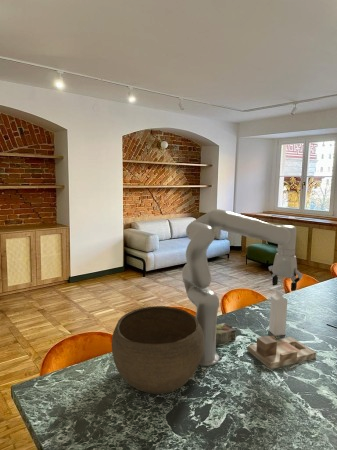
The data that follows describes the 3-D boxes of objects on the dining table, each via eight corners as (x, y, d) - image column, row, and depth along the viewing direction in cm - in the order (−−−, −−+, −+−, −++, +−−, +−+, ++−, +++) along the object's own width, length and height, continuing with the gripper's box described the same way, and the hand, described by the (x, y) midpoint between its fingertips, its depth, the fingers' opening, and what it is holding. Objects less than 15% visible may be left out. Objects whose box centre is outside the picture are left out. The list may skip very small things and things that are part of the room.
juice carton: (225, 331, 174) (226, 320, 173) (238, 339, 166) (238, 328, 165) (193, 340, 165) (193, 328, 164) (204, 349, 156) (204, 337, 156)
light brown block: (264, 357, 145) (265, 344, 144) (256, 350, 150) (257, 337, 149) (276, 354, 147) (276, 341, 146) (267, 348, 152) (268, 335, 152)
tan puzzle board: (270, 369, 140) (270, 357, 139) (247, 350, 155) (248, 340, 154) (316, 357, 149) (316, 347, 149) (290, 341, 164) (291, 331, 163)
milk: (274, 336, 170) (276, 294, 166) (268, 330, 176) (270, 290, 172) (285, 334, 171) (288, 293, 168) (279, 329, 177) (281, 289, 174)
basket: (215, 370, 139) (219, 315, 133) (173, 429, 109) (175, 362, 104) (145, 343, 156) (145, 294, 151) (92, 388, 127) (91, 329, 121)
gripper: (265, 249, 159) (263, 284, 161) (299, 256, 145) (296, 294, 148) (274, 247, 164) (272, 281, 166) (308, 254, 150) (305, 291, 152)
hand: (283, 287), depth 157 cm, fingers open, 9 cm apart
